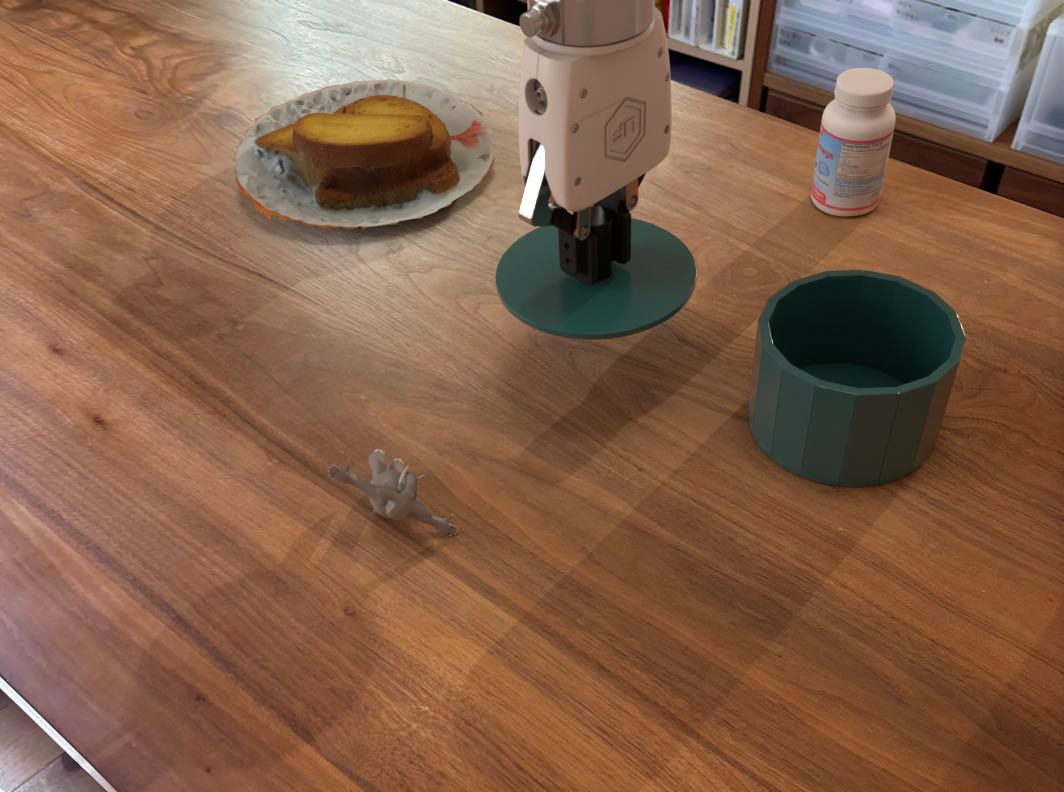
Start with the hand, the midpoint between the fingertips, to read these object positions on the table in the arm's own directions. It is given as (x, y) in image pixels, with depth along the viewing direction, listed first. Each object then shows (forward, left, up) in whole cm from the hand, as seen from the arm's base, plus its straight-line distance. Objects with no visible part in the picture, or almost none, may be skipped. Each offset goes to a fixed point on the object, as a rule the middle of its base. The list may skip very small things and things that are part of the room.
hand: (595, 264), depth 79 cm
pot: (-8, +17, -10) cm, 21 cm away
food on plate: (-7, -38, -10) cm, 40 cm away
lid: (0, 0, -1) cm, 1 cm away
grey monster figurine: (+21, 0, -10) cm, 23 cm away
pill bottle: (-32, 0, -10) cm, 34 cm away
